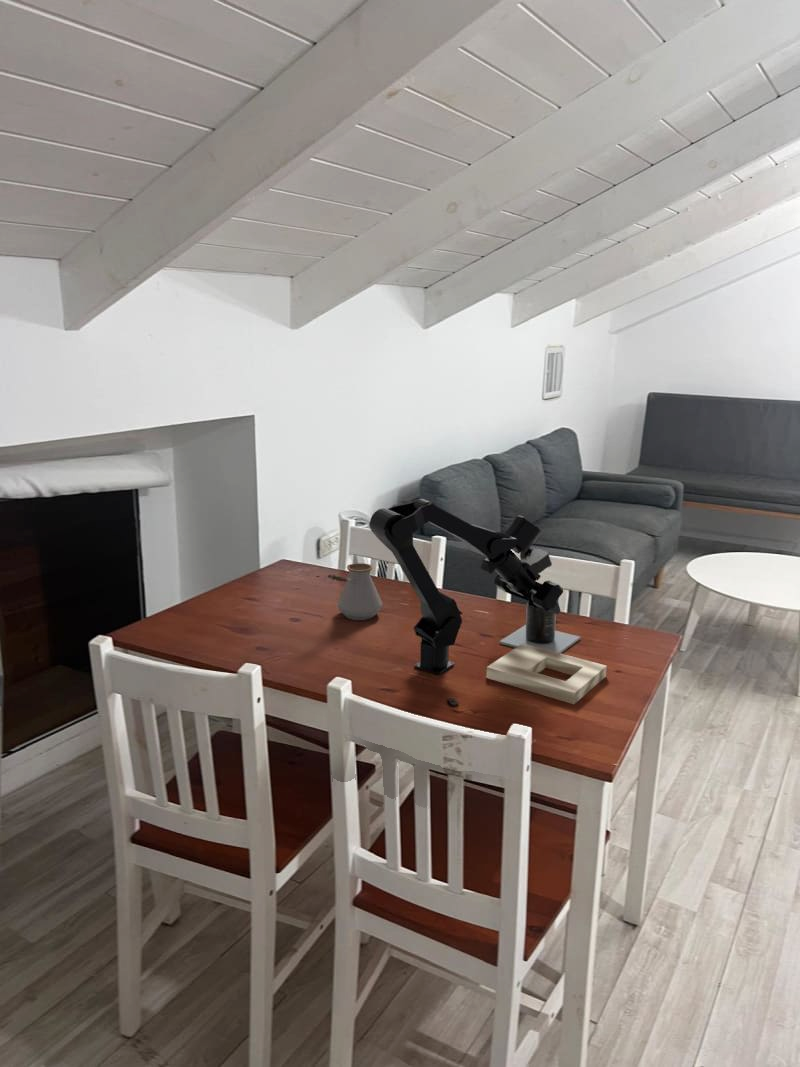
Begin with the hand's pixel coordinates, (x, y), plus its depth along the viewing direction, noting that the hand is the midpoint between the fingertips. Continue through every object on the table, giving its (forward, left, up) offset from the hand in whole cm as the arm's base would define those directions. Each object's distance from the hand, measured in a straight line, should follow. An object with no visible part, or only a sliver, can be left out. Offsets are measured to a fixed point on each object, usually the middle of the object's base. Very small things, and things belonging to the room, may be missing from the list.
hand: (546, 606), depth 189 cm
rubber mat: (-1, 0, -9) cm, 9 cm away
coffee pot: (-18, +44, -9) cm, 49 cm away
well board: (-18, -10, -9) cm, 22 cm away
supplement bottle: (-1, +1, -8) cm, 8 cm away
